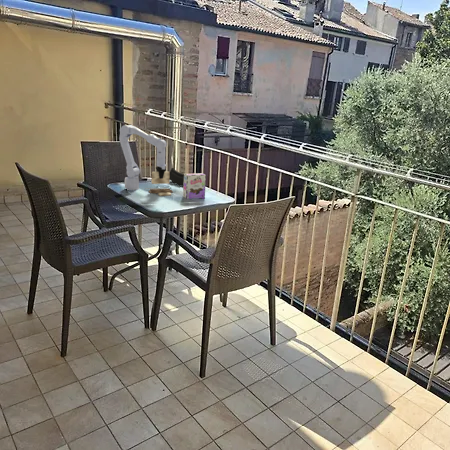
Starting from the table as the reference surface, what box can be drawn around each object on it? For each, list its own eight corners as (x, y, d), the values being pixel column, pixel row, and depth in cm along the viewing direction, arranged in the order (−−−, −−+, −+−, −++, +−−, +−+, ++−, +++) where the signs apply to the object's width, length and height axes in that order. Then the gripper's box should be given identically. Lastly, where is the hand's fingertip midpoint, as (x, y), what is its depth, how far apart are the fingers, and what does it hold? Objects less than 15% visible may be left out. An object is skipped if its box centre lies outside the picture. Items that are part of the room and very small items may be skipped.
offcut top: (159, 195, 273) (159, 194, 273) (158, 194, 276) (158, 192, 276) (171, 195, 276) (171, 193, 276) (169, 194, 279) (169, 192, 279)
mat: (147, 191, 286) (147, 190, 285) (144, 189, 292) (144, 188, 292) (169, 190, 292) (169, 190, 292) (166, 188, 299) (166, 187, 299)
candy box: (186, 199, 271) (186, 175, 266) (182, 197, 276) (183, 173, 271) (205, 198, 277) (206, 174, 272) (201, 196, 282) (202, 172, 277)
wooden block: (152, 184, 279) (152, 172, 277) (151, 183, 281) (151, 171, 279) (169, 183, 284) (169, 172, 282) (168, 182, 286) (168, 171, 283)
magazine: (195, 177, 299) (174, 159, 318) (191, 177, 297) (171, 159, 316) (190, 197, 308) (171, 179, 326) (187, 198, 306) (167, 179, 324)
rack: (150, 194, 278) (150, 190, 277) (148, 192, 283) (148, 189, 282) (173, 193, 285) (173, 190, 284) (170, 191, 289) (170, 188, 288)
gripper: (169, 159, 273) (169, 180, 277) (163, 156, 285) (163, 175, 289) (159, 159, 270) (159, 180, 274) (153, 156, 282) (153, 176, 286)
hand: (160, 178), depth 281 cm, fingers closed on wooden block, 2 cm apart
